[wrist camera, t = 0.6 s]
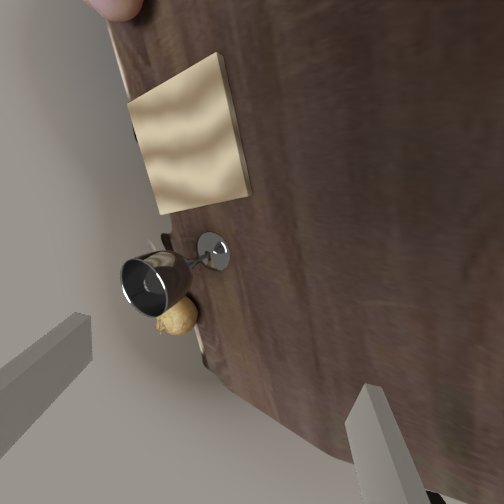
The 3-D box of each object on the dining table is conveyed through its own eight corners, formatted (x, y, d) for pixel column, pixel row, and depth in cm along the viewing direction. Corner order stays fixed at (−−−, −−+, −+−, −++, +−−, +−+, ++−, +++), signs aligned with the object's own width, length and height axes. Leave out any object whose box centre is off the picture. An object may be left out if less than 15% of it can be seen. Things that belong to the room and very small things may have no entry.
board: (134, 105, 42) (126, 104, 41) (222, 56, 33) (216, 52, 32) (166, 213, 46) (160, 214, 45) (252, 194, 37) (248, 196, 36)
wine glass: (200, 273, 47) (132, 316, 35) (189, 232, 45) (112, 260, 33) (237, 272, 43) (174, 319, 31) (226, 226, 41) (154, 257, 29)
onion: (172, 283, 52) (144, 300, 46) (204, 296, 49) (178, 316, 43) (173, 316, 55) (146, 335, 49) (203, 330, 52) (178, 352, 46)
